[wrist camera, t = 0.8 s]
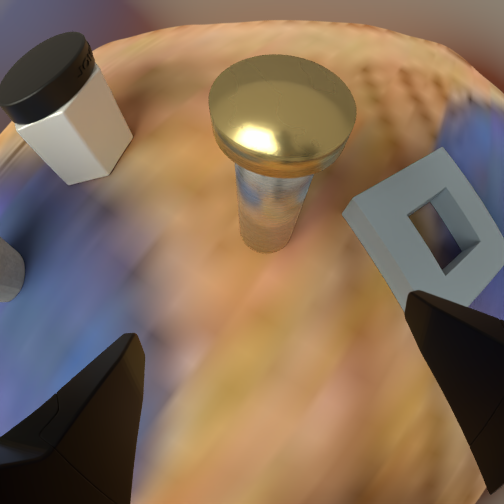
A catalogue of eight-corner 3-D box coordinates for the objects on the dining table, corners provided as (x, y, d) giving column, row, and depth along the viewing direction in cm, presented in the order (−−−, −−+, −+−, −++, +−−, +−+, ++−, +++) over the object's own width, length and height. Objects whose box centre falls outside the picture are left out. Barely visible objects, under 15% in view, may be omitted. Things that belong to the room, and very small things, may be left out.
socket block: (493, 262, 23) (512, 254, 20) (418, 337, 21) (438, 335, 18) (428, 162, 26) (442, 146, 23) (341, 214, 24) (352, 197, 21)
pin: (315, 240, 24) (384, 124, 10) (253, 277, 23) (258, 182, 9) (277, 184, 25) (300, 43, 12) (216, 216, 24) (185, 81, 11)
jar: (146, 150, 26) (100, 51, 14) (75, 203, 24) (-2, 127, 13) (111, 103, 28) (71, 20, 16) (51, 148, 26) (-7, 76, 15)
